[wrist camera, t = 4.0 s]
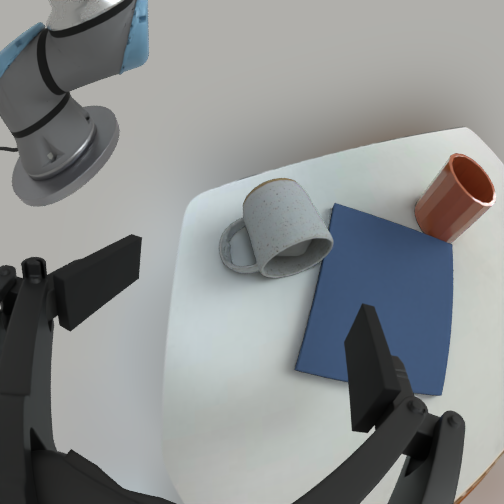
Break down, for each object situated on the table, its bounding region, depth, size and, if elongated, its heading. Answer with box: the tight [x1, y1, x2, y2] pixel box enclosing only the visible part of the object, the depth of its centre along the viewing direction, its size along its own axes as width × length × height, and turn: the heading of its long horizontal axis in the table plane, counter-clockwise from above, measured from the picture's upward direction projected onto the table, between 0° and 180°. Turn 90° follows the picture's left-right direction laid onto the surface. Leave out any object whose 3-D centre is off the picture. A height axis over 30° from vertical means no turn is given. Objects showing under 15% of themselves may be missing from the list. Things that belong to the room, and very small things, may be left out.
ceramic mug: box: [219, 178, 333, 278], centre depth 29 cm, size 11×8×8 cm
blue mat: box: [295, 203, 453, 396], centre depth 29 cm, size 18×20×1 cm
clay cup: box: [415, 153, 496, 243], centre depth 30 cm, size 8×8×10 cm
